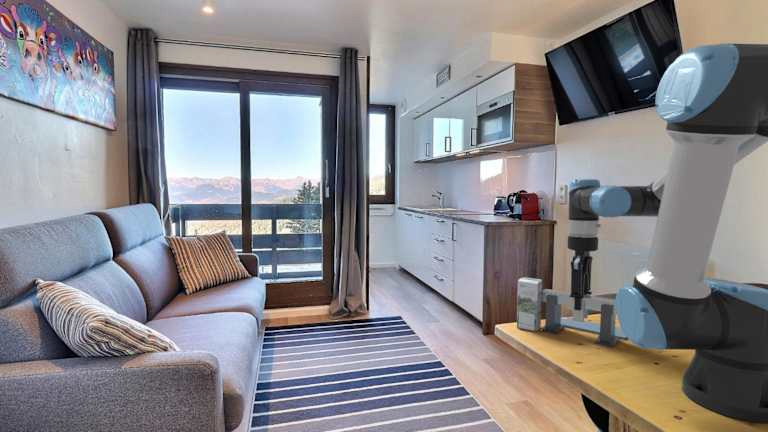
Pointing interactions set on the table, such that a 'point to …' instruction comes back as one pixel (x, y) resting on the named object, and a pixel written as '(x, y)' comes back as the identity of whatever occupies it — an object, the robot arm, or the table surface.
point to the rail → (589, 301)
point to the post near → (607, 328)
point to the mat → (589, 327)
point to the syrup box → (529, 304)
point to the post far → (552, 316)
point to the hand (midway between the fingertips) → (580, 319)
